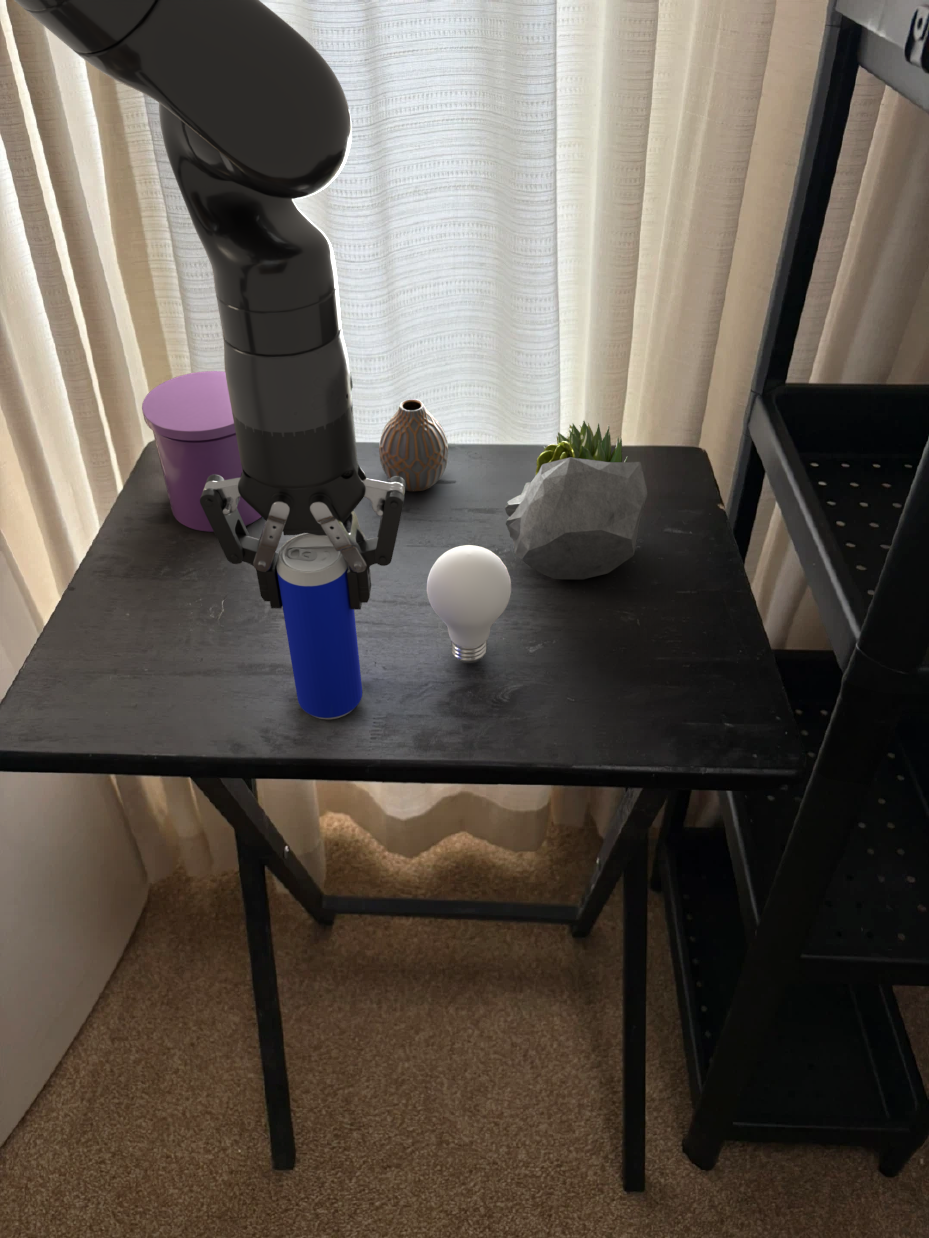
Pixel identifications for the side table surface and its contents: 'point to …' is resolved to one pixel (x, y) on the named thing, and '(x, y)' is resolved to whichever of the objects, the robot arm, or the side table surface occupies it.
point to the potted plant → (578, 507)
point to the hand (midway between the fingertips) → (318, 601)
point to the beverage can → (319, 626)
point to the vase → (414, 446)
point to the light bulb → (468, 597)
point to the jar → (194, 442)
